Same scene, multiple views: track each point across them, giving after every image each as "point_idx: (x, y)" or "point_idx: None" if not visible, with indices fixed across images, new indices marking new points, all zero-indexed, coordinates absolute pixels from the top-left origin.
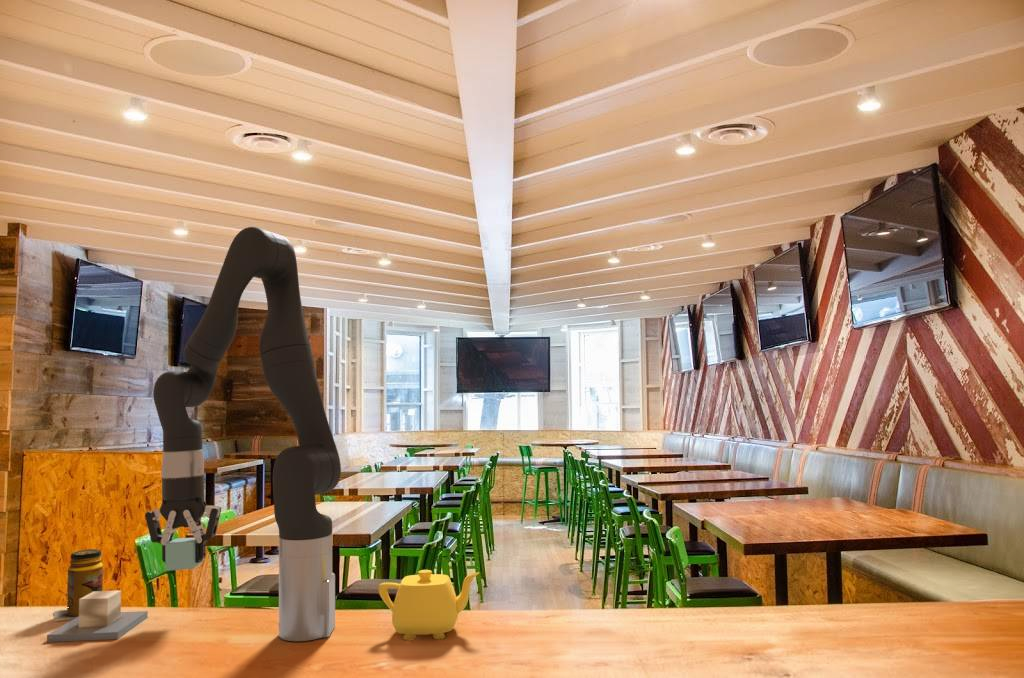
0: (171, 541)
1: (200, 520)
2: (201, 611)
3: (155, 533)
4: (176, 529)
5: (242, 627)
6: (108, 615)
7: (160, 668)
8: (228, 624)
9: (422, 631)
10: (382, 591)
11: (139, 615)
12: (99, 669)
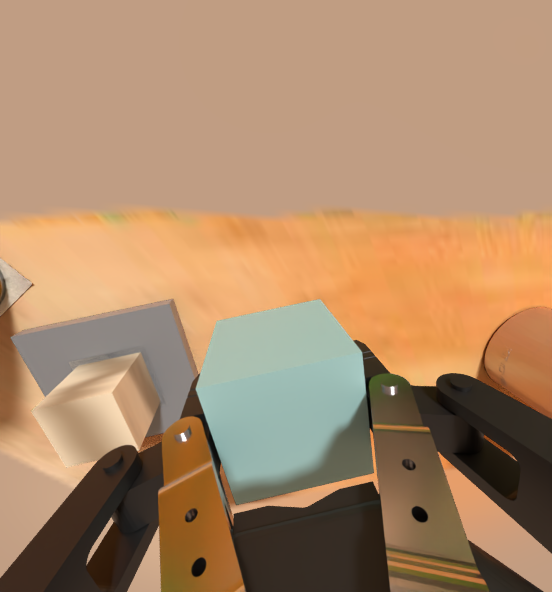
0: (230, 459)
1: (448, 494)
2: (276, 244)
3: (136, 566)
4: (215, 473)
5: (410, 332)
6: (152, 412)
7: (355, 482)
8: (377, 320)
9: None
10: None
11: (175, 334)
12: (275, 498)
